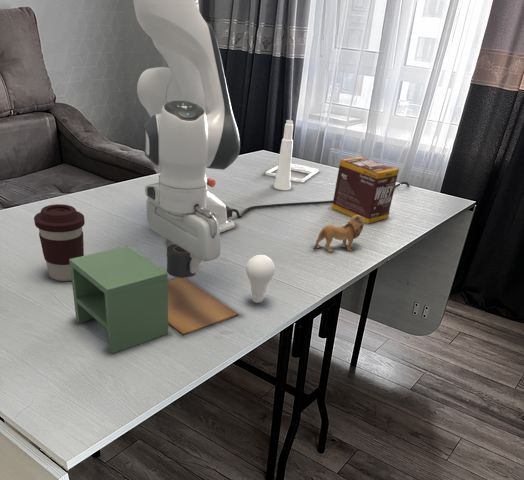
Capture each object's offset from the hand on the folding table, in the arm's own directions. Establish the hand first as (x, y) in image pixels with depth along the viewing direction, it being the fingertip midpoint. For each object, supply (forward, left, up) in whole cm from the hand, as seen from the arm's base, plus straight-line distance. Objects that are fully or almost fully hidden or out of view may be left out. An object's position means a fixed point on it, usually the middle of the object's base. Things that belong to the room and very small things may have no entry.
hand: (182, 264), depth 109 cm
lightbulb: (-14, +8, -9) cm, 19 cm away
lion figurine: (-53, -3, -10) cm, 54 cm away
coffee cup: (+14, -25, -9) cm, 30 cm away
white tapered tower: (-76, -49, -9) cm, 91 cm away
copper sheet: (0, 0, -9) cm, 9 cm away
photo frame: (-92, -60, -9) cm, 110 cm away
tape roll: (0, 0, -1) cm, 1 cm away
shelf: (+15, +1, -9) cm, 17 cm away
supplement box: (-81, -18, -9) cm, 84 cm away
